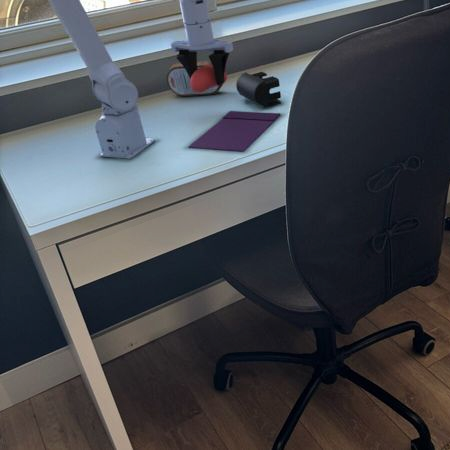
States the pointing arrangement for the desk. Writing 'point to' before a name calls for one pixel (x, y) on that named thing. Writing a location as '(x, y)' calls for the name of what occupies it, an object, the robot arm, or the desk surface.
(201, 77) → the red oval piece
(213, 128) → the cloth
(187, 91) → the tin
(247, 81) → the end cap
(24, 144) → the desk surface
